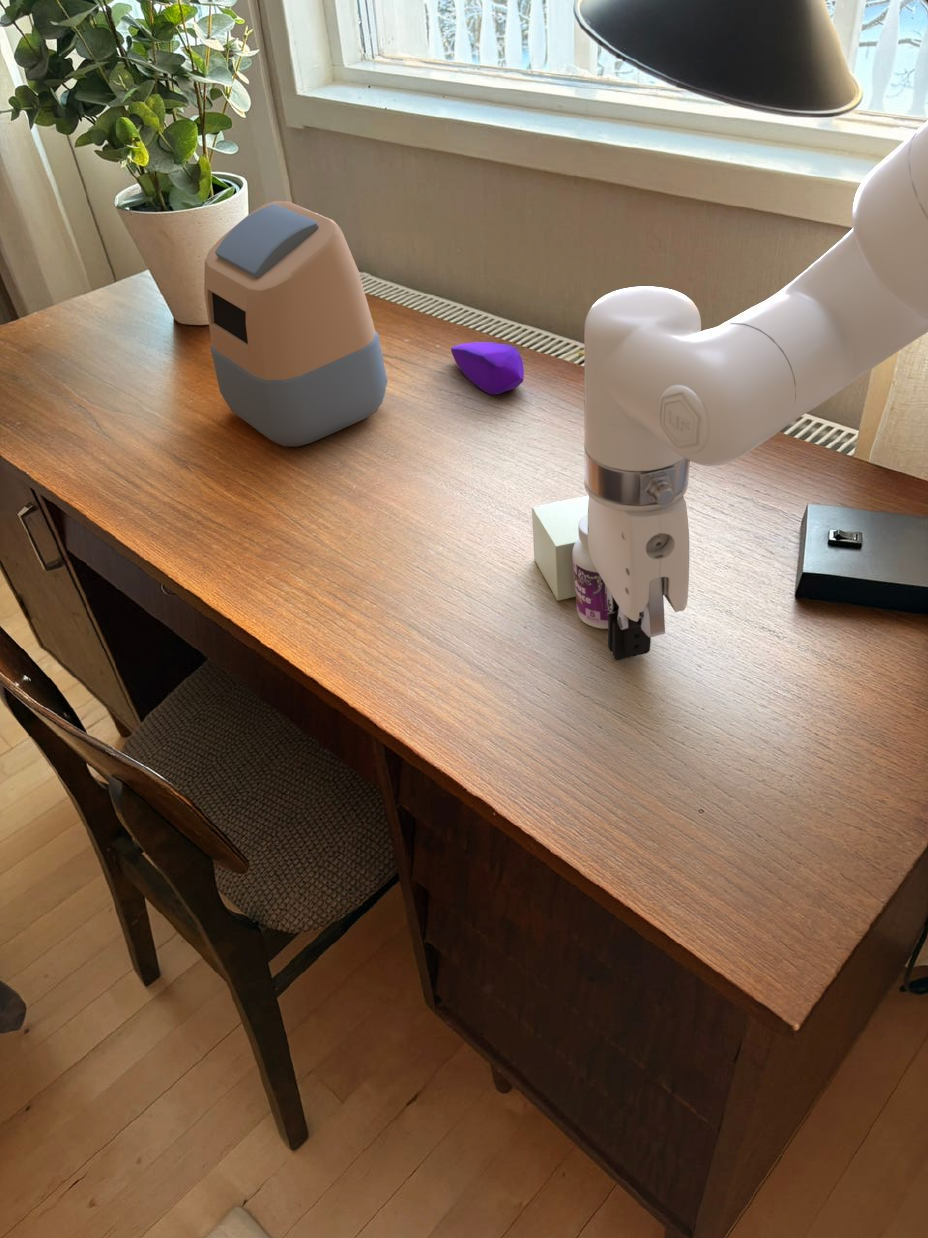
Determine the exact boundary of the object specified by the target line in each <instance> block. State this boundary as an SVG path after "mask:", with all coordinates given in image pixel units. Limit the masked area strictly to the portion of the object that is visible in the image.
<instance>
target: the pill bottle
mask: <svg viewBox="0 0 928 1238" xmlns="http://www.w3.org/2000/svg"><path fill="white" fill-rule="evenodd" d="M587 523H588V514H587V515H585V516H584V517H582V518H581V520H580V521H579V525H578V530H579V539H578V540H577V541H576V543H575V545H574V547H573V553H572V555H573V568H574V581H575V592H576V597H575V602H576V604H575V605H576V612H577V615H578V617H579V619H580V620H581V621H582V622H583V623H584V624H586V625H588V626H590V627H593V628H596V629H601V630H602V629H605V630H608V614H611V613H614V612H610V611H609V609H608V605H607V592H606V585H605V583H604V581H603V580H602V578H601V576H600V575H599V573H598V571H597V570H596V568H595V566H594V564H593V562H592V560H591V557H590V554H589V549H588V535H587Z"/></svg>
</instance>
